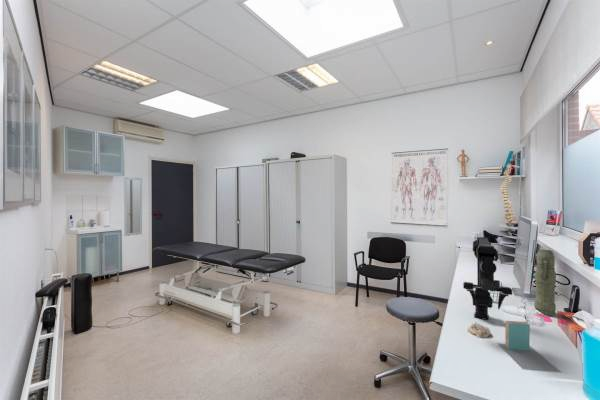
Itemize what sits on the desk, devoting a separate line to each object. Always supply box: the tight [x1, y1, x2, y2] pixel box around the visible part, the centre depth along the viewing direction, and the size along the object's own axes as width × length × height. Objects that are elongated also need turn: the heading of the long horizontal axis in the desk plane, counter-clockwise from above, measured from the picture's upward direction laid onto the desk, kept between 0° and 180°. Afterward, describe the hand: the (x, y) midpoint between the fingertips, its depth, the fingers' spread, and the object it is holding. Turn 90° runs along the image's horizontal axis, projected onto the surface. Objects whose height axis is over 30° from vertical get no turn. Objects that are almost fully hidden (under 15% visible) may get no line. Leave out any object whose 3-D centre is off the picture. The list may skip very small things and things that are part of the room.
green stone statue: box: [534, 249, 557, 317], centre depth 160 cm, size 9×12×35 cm
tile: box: [504, 320, 531, 350], centre depth 123 cm, size 2×8×11 cm, turn 81°
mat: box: [496, 342, 562, 373], centre depth 117 cm, size 19×13×1 cm
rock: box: [466, 322, 492, 338], centre depth 137 cm, size 11×8×6 cm
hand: (486, 307), depth 133 cm, fingers open, 9 cm apart
